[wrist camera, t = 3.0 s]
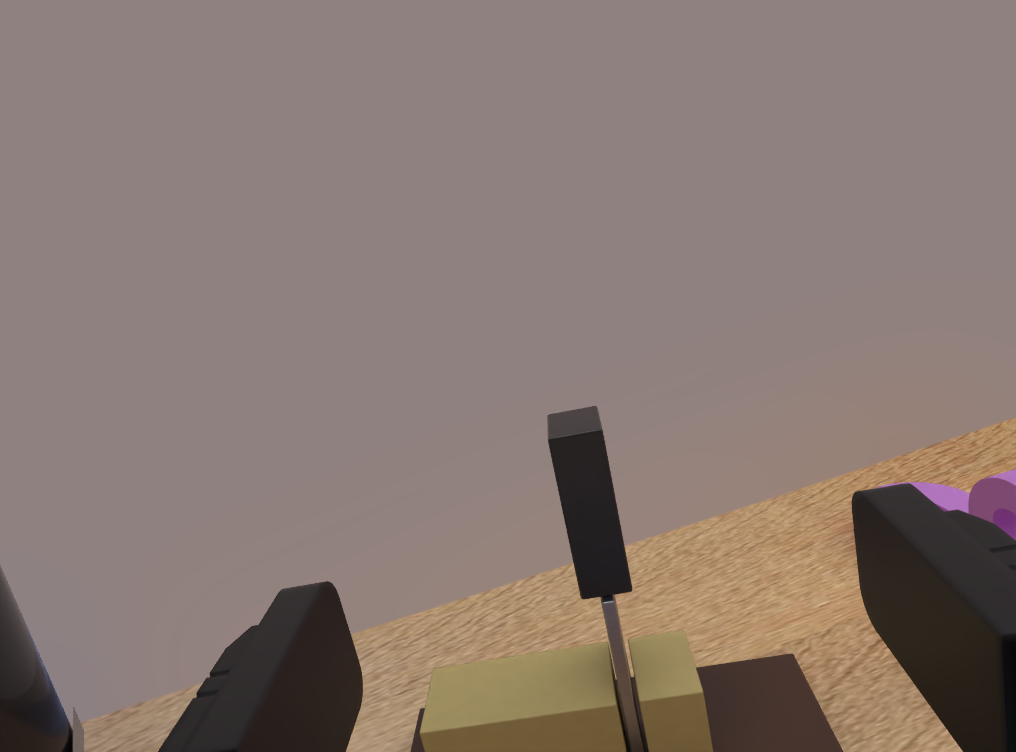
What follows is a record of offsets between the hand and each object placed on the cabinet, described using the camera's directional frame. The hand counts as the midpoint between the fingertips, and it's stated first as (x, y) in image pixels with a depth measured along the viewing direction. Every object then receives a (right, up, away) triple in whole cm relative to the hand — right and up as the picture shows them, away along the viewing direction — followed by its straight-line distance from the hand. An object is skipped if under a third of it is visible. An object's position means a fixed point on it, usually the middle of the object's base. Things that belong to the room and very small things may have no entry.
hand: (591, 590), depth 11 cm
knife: (+3, -10, +14) cm, 18 cm away
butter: (0, -10, +15) cm, 18 cm away
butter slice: (+5, -10, +14) cm, 18 cm away
